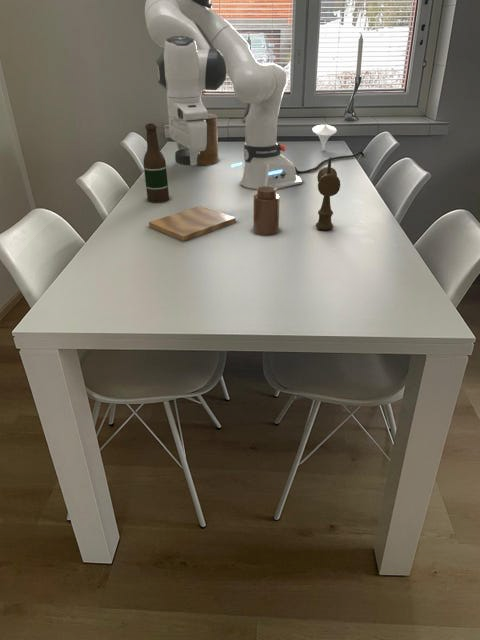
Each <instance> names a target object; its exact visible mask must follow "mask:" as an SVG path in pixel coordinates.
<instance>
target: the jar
mask: <svg viewBox="0 0 480 640" xmlns="http://www.w3.org/2000/svg"><path fill="white" fill-rule="evenodd" d="M252 202H253V203H252V206H253V207H252V208H253V211H252V212H253V213H252V214H253V215H252V216H253V218H252V219H253V223H252V224H253V225H252V226H253V228H252V229H253V230H252V231H253V232H254V234H257V235H260V236H272V235H276V234H278V233H279V228H280V227H279V225H280V222H279V221H280V194H277V189H276V188H274V187H267V186H266V187H259V188H258V189H256V193H254V195H253V201H252Z"/></svg>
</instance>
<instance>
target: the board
mask: <svg viewBox="0 0 480 640" xmlns="http://www.w3.org/2000/svg"><path fill="white" fill-rule="evenodd" d="M236 219H237V218H236V217H234V216H232V215H230V214H229V215H228V214H226V213H223V212H220V211H217V210H213V209H211V208H209V207H205V206H202V205H199V206H195V207H192V208H189V209H185V210H183V211H179V212H176V213H173V214H170V215H166V216H163V217H161V218H158V219H153V220H151V221H149V222H148V227H149V228H150V229H153V230H155V231H158V232H161V233H163V234H165V235H168V236H171V237H172V238H175V239H177V240H179V241H182V242H186V241H188V240H192V239H194V238H198V237H200V236H203V235H205V234H208V233H211V232H213V231H216V230H219V229H222V228H225V227H227V226H230V225H232V224H236V221H237V220H236Z"/></svg>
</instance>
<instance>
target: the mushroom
mask: <svg viewBox="0 0 480 640" xmlns="http://www.w3.org/2000/svg"><path fill="white" fill-rule="evenodd" d="M311 130H312V132H313V133H314V134H316V136H318V138H319V141H320V145H321V151H322V152H324V151H325V148H326V145H327V142H328V141H329V139H330V137H331V136H333V135H334V134H336V133H337V132H338V129H337V128H336V127H335V126H333V125H329V124H326V123H325V124H318V125H315V126H313V127H312V128H311Z"/></svg>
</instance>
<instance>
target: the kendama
mask: <svg viewBox="0 0 480 640" xmlns="http://www.w3.org/2000/svg"><path fill="white" fill-rule="evenodd" d="M331 158H332V157H329V158H328V159H329V160H328V161H327V166H325V167H322V168H321V169H320V170H319V171H318V173H317V178H316V179H317V190H318V192H319V194H320V195H322V196H323V197H322V202H321V206H320V208H319V210H318V211H317V214H318V221H317V222H316V223H315V228H316V229H318V230H321V231H329V230H332V229H334V224H333V222H332V216H333V215H334V211H333V210H332V206H331V197H333V196H335V195H338V192H340V189H341V180H340V178H339V177H338V172H337V171H336V169H335V168H334V167H332V160H331Z"/></svg>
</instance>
